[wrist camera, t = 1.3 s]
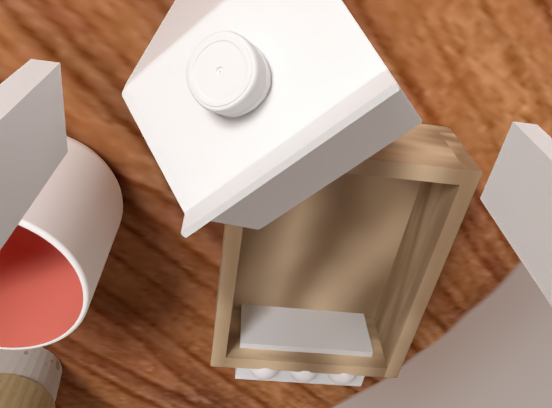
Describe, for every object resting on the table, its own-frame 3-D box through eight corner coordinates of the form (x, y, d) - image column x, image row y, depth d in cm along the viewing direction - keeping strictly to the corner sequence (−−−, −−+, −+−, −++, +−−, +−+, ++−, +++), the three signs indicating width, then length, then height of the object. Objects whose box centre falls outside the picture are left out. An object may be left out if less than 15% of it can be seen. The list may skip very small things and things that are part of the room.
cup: (56, 93, 32) (-15, 174, 23) (156, 207, 37) (127, 308, 28) (-57, 167, 34) (-157, 264, 26) (51, 265, 39) (-4, 372, 31)
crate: (215, 306, 42) (210, 366, 37) (238, 101, 32) (235, 144, 27) (380, 319, 44) (396, 378, 39) (449, 127, 34) (482, 172, 29)
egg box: (236, 338, 43) (234, 391, 38) (241, 304, 41) (240, 356, 36) (352, 347, 44) (363, 399, 40) (363, 313, 42) (376, 365, 37)
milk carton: (352, 15, 30) (464, 184, 14) (257, 88, 32) (260, 306, 16) (277, -97, 27) (312, -43, 11) (177, -6, 29) (83, 149, 13)
